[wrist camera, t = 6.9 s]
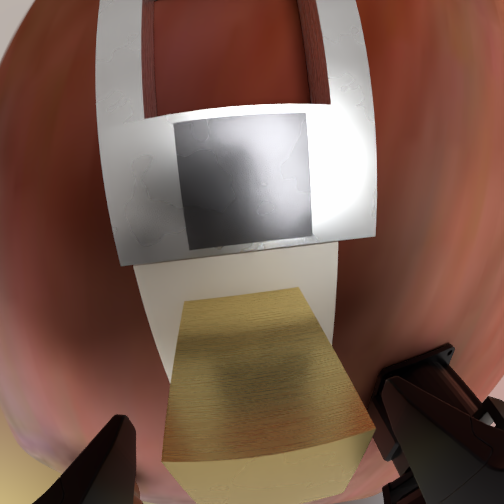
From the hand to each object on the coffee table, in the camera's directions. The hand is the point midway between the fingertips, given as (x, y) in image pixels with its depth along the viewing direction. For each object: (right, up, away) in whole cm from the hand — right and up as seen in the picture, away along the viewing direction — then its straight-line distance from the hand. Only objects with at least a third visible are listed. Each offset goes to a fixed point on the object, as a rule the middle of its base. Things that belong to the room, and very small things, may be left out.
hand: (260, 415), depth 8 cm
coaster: (-1, +2, +5) cm, 5 cm away
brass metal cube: (0, +1, +4) cm, 4 cm away
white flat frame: (-1, +12, +1) cm, 12 cm away
